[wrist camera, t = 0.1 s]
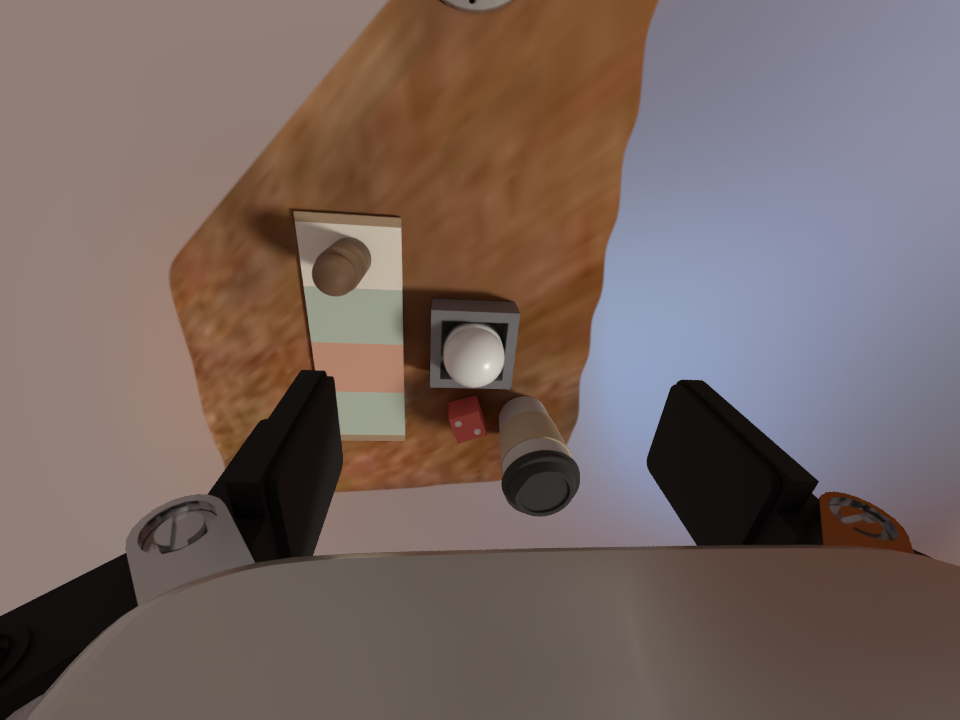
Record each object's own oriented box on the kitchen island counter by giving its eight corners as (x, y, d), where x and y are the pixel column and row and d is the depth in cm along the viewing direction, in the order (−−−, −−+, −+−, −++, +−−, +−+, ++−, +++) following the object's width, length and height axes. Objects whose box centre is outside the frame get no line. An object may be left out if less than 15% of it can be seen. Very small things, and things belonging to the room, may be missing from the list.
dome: (444, 316, 46) (444, 340, 40) (503, 318, 47) (511, 343, 41) (442, 368, 50) (442, 398, 43) (497, 369, 50) (505, 399, 44)
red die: (448, 402, 54) (448, 420, 51) (476, 394, 54) (478, 412, 50) (457, 424, 56) (457, 443, 52) (484, 417, 56) (486, 435, 52)
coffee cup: (565, 401, 56) (602, 478, 42) (535, 448, 59) (561, 533, 46) (507, 381, 53) (527, 456, 40) (480, 431, 57) (490, 516, 44)
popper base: (432, 298, 47) (431, 310, 44) (514, 302, 48) (520, 313, 45) (431, 371, 52) (429, 387, 48) (506, 373, 53) (510, 389, 49)
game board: (295, 210, 42) (293, 211, 41) (401, 217, 43) (400, 218, 42) (325, 437, 55) (324, 440, 55) (405, 438, 56) (404, 440, 56)
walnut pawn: (328, 236, 43) (300, 255, 34) (370, 238, 43) (352, 258, 35) (332, 276, 44) (306, 303, 36) (372, 278, 45) (355, 305, 37)
